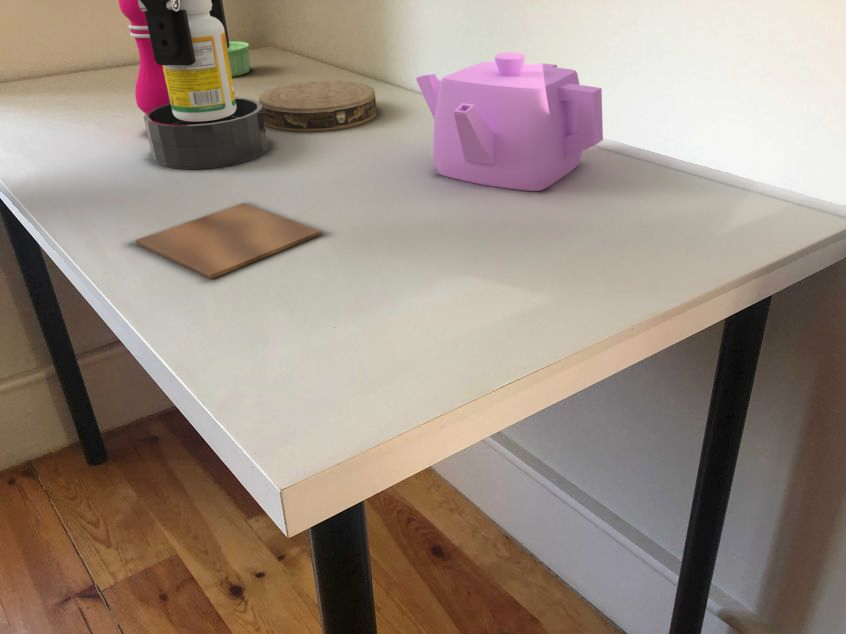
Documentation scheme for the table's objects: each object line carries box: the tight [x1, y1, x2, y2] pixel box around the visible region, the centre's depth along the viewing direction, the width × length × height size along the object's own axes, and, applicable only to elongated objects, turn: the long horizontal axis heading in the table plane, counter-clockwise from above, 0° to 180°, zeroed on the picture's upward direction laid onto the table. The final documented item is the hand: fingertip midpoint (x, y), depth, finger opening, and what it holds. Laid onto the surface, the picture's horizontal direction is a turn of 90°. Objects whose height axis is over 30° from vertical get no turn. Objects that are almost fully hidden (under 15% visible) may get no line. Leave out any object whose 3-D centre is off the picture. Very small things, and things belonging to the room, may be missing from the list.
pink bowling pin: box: [118, 0, 170, 114], centre depth 100 cm, size 7×7×20 cm
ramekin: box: [227, 40, 251, 78], centre depth 135 cm, size 9×9×4 cm
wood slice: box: [258, 80, 378, 133], centre depth 110 cm, size 16×16×3 cm
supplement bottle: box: [163, 0, 236, 122], centre depth 65 cm, size 5×5×10 cm
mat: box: [135, 202, 322, 280], centre depth 73 cm, size 12×12×1 cm
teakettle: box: [415, 52, 604, 192], centre depth 86 cm, size 17×17×12 cm
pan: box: [143, 96, 269, 170], centre depth 96 cm, size 14×14×5 cm
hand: (194, 54), depth 65 cm, fingers closed on supplement bottle, 5 cm apart
